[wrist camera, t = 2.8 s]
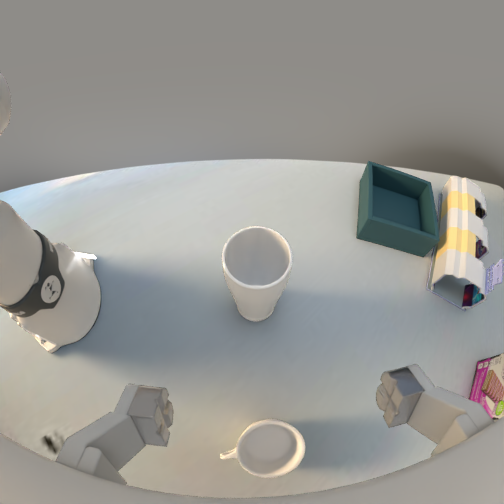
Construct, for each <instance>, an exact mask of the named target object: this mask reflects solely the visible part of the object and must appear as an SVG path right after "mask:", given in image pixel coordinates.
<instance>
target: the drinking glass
mask: <svg viewBox="0 0 504 504" xmlns="http://www.w3.org/2000/svg"><path fill="white" fill-rule="evenodd" d="M292 262H293V254H292V250H291V247H290V245H289V243H288V241H287V240H286V239H285V238H284V237H283V236H282V235H281V234H280V233H279V232H277V231H275V230H273V229H271V228H268V227H263V226H251V227H246V228H243V229H241V230H239V231H237V232H236V233H234V234H233V235H232V236H231V237H230V238H229V239H228V240H227V242H226V244H225V246H224V248H223V252H222V265H223V272H224V277H225V280H226V283H227V286H228V288H229V290H230V292H231V294H232V296H233V298H234V300H235V302H236V304H237V308H238V311H239V312H240V314H241V315H242V316H243V317H244V318H246V319H248V320H250V321H262V320H264V319H266V318H268V317H269V316H270V315H271V314H272V312H273V310H274V308H275V305H276V303H277V302H278V300H279V298H280V296H281V295H282V293H283V291H284V289H285V287H286V285H287V283H288V280H289V276H290V273H291V267H292Z"/></svg>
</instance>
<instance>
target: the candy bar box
mask: <svg viewBox="0 0 504 504" xmlns="http://www.w3.org/2000/svg"><path fill="white" fill-rule="evenodd" d="M469 400H472V401H474V402H477V403H479V404H481V405H482V406H483V408H484V409H485V410H486V412H487V413H488V414H489V415H490V417H491V418H492V419H493V421H494V422H495V421H497V420H498V419H500V418H501V417H503V416H504V353H503V354H500V355H497V356H494V357H491V358H487V359H484V360H481V361H478V363H477V368H476V373H475V378H474V382H473V387H472V391H471V394H470V398H469Z"/></svg>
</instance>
